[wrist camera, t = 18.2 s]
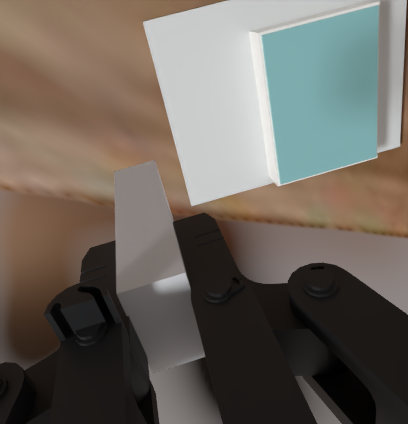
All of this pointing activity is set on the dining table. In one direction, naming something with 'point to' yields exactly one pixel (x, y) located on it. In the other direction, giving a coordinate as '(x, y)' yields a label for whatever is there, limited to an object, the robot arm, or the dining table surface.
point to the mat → (246, 86)
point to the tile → (318, 91)
